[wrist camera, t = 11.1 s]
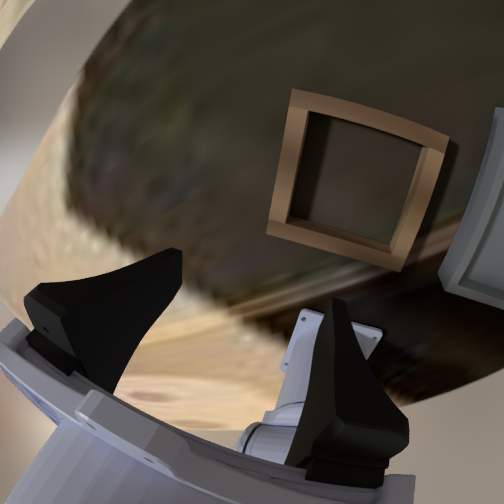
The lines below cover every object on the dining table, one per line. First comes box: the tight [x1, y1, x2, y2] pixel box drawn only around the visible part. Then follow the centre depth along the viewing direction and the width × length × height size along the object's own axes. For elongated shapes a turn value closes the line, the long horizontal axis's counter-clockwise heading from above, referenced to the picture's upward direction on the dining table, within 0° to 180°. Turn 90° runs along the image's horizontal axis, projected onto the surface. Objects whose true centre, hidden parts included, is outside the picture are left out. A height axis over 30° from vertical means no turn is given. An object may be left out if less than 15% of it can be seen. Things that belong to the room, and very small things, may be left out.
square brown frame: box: [266, 89, 449, 272], centre depth 18 cm, size 10×10×2 cm
